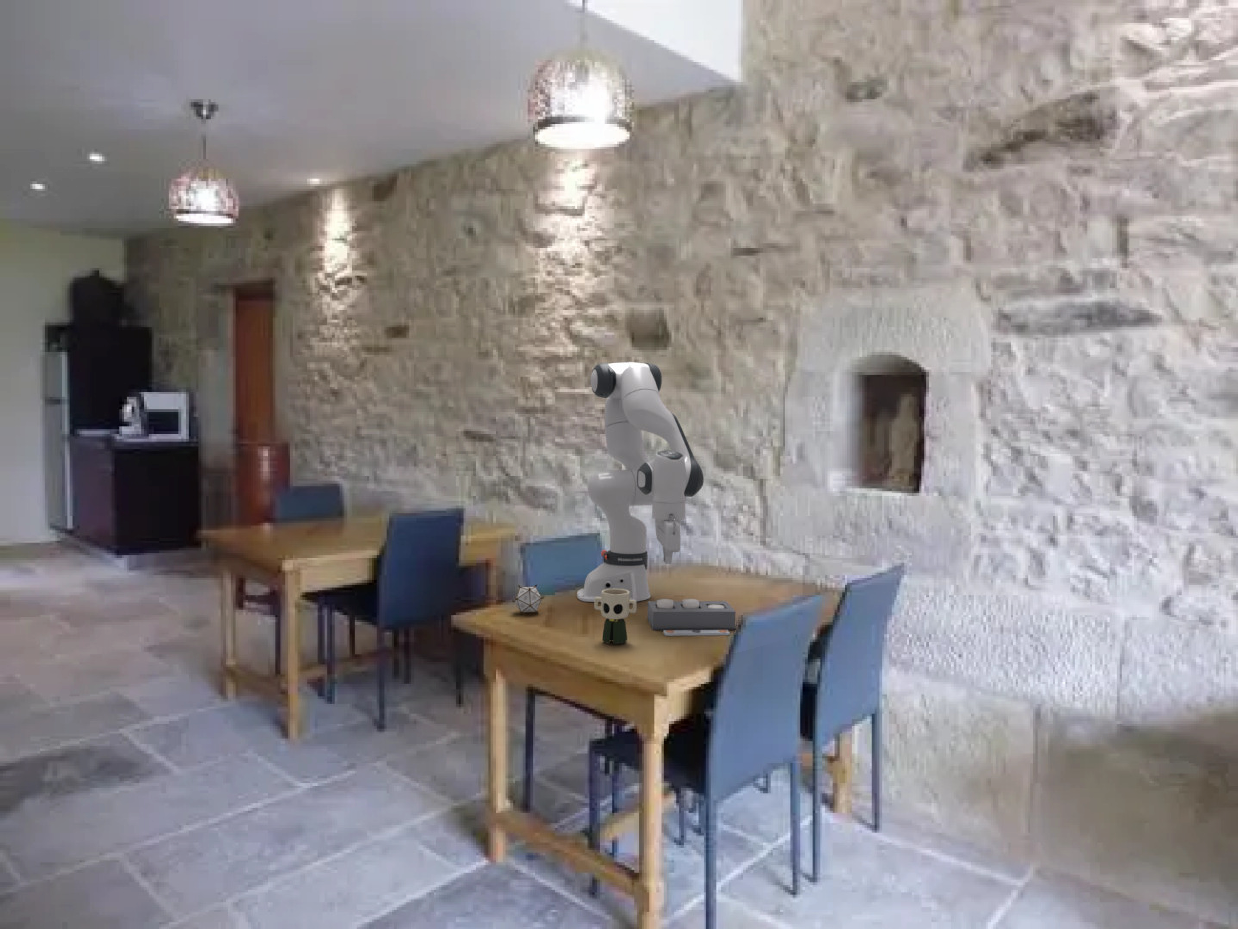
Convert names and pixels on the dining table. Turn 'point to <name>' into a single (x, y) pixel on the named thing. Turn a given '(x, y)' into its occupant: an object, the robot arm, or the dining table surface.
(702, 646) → the dining table surface
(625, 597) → the character mug
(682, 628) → the button box
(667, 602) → the left button
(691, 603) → the middle button
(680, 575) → the dining table surface
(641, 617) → the dining table surface
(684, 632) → the pattern card
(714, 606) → the right button
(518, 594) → the white spiked icosahedron
